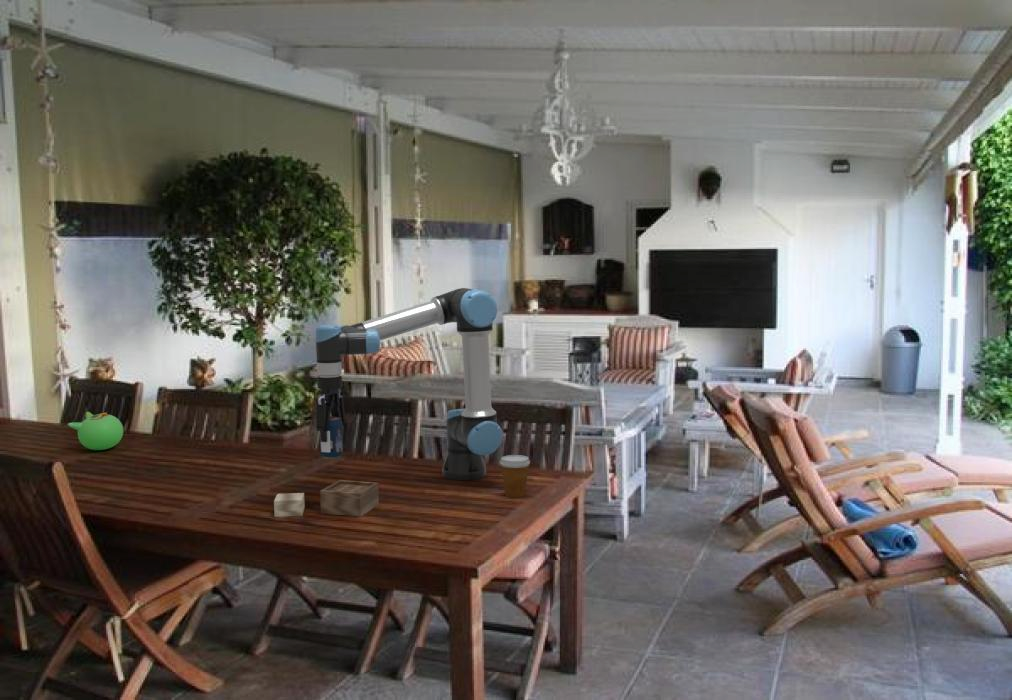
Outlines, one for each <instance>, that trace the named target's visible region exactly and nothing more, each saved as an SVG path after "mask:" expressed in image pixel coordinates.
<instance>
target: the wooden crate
mask: <svg viewBox="0 0 1012 700" xmlns="http://www.w3.org/2000/svg"><path fill="white" fill-rule="evenodd" d="M319 498H320V499H319V500H320V501H319V502H320V514H322V515H323V514H324V515H325V514H327V515H337V516H347V517H351V516H352V517H360V518H361V517H362V516H364V515H366V514H367V513H369V512H370V511H371V510H373V509H374V508H376V507H378V506H379V503H380V502H379V482H374V481H373V482H371V481H360V480H359V481H358V480H346V479H345V480H343V479H339V480H337V481H335V482H333V483H332V484H330V485H328V486H326V487H325V488H322V489H321V490H319Z"/></svg>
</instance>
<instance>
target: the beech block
mask: <svg viewBox="0 0 1012 700" xmlns="http://www.w3.org/2000/svg"><path fill="white" fill-rule="evenodd" d="M305 503H306V501H305V492H293V493H288V492H287V493H277V494H276V496H275V498H274V500H273V506H274V507H273V510H274V517H275V518H279V517H280V518H281V517H303V515H304V512H305V509H306V508H305V506H306V505H305Z"/></svg>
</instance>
